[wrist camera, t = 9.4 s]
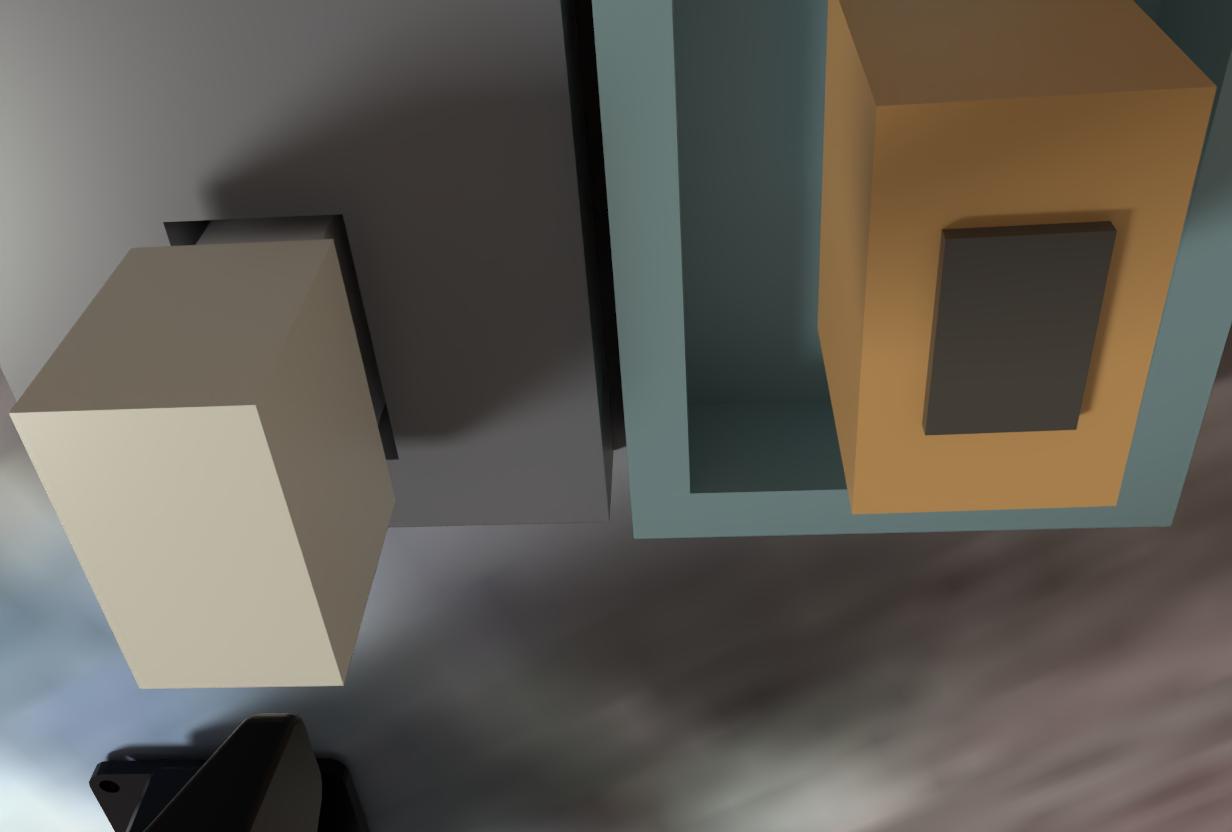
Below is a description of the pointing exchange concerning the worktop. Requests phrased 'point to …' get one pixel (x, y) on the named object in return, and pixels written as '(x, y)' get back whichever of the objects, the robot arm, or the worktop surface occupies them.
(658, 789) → the worktop surface
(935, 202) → the block
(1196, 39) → the parts tray
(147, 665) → the block
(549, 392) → the block
